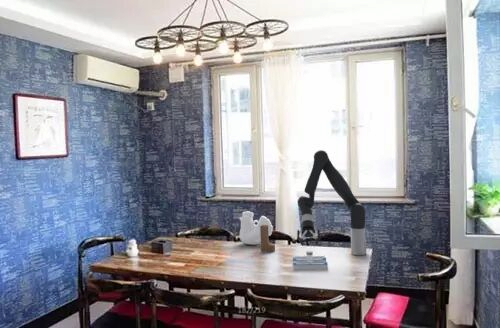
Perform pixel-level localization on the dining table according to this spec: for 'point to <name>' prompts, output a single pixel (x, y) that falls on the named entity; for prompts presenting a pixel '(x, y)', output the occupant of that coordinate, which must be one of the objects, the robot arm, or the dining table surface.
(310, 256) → the cord plug
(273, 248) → the wooden block
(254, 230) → the decorative rooster
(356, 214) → the robot arm
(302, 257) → the duct
